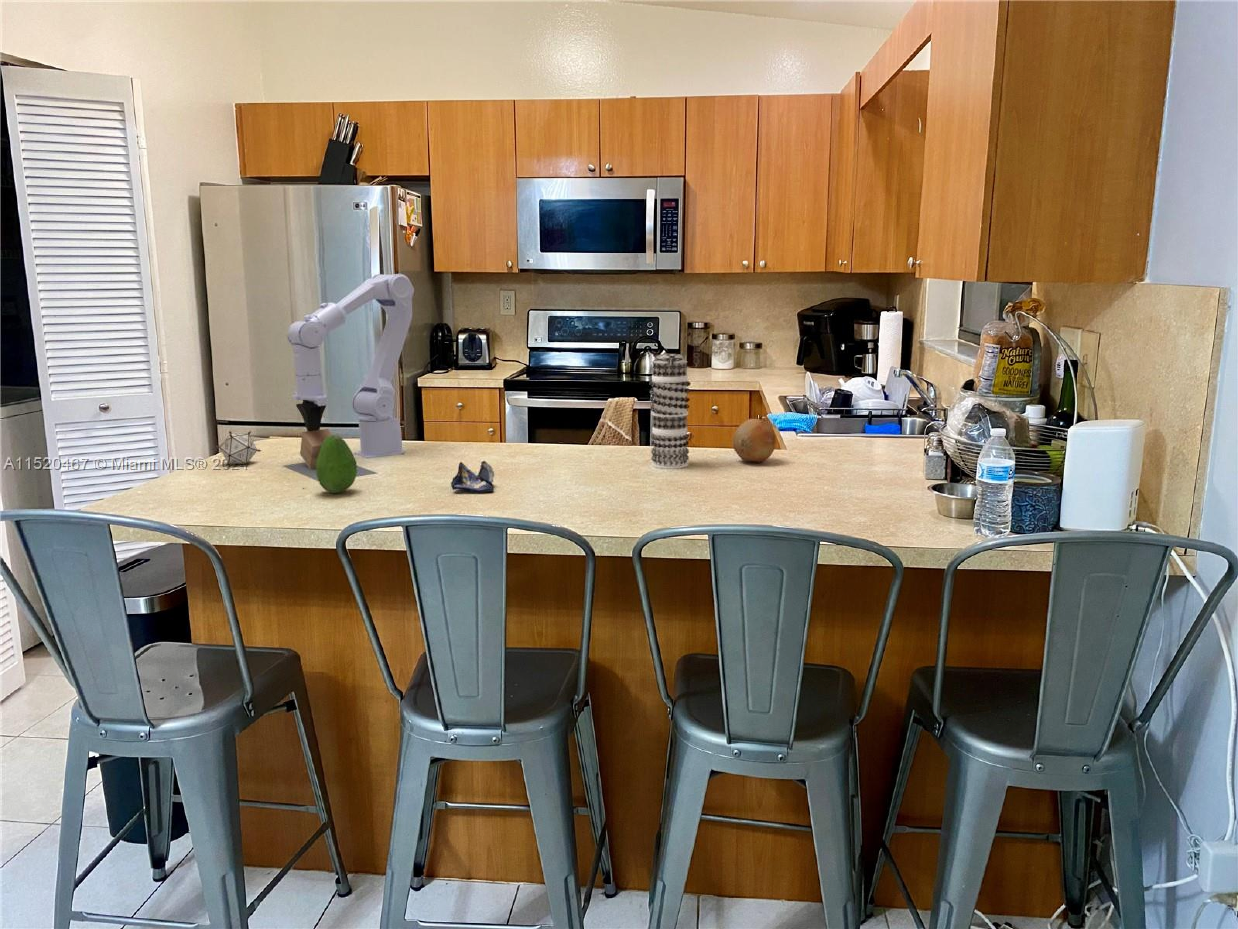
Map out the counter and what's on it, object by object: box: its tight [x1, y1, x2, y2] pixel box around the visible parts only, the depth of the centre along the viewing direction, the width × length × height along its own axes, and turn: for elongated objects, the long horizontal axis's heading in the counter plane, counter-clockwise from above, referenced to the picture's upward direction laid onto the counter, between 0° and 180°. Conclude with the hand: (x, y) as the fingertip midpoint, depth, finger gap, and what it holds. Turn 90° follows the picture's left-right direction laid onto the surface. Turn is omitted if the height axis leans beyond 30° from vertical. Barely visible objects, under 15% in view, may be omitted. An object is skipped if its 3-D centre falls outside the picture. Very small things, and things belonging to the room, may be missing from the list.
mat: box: [282, 461, 378, 482], centre depth 205 cm, size 13×23×1 cm, turn 40°
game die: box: [215, 430, 262, 467], centre depth 211 cm, size 9×8×10 cm
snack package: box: [450, 460, 495, 495], centre depth 187 cm, size 12×6×12 cm
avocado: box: [316, 434, 358, 494], centre depth 183 cm, size 8×8×12 cm
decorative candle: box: [648, 353, 692, 470], centre depth 204 cm, size 9×9×25 cm
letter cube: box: [299, 428, 333, 469], centre depth 208 cm, size 6×6×6 cm
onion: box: [732, 418, 777, 464], centre depth 207 cm, size 10×10×10 cm
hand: (313, 433), depth 209 cm, fingers closed
